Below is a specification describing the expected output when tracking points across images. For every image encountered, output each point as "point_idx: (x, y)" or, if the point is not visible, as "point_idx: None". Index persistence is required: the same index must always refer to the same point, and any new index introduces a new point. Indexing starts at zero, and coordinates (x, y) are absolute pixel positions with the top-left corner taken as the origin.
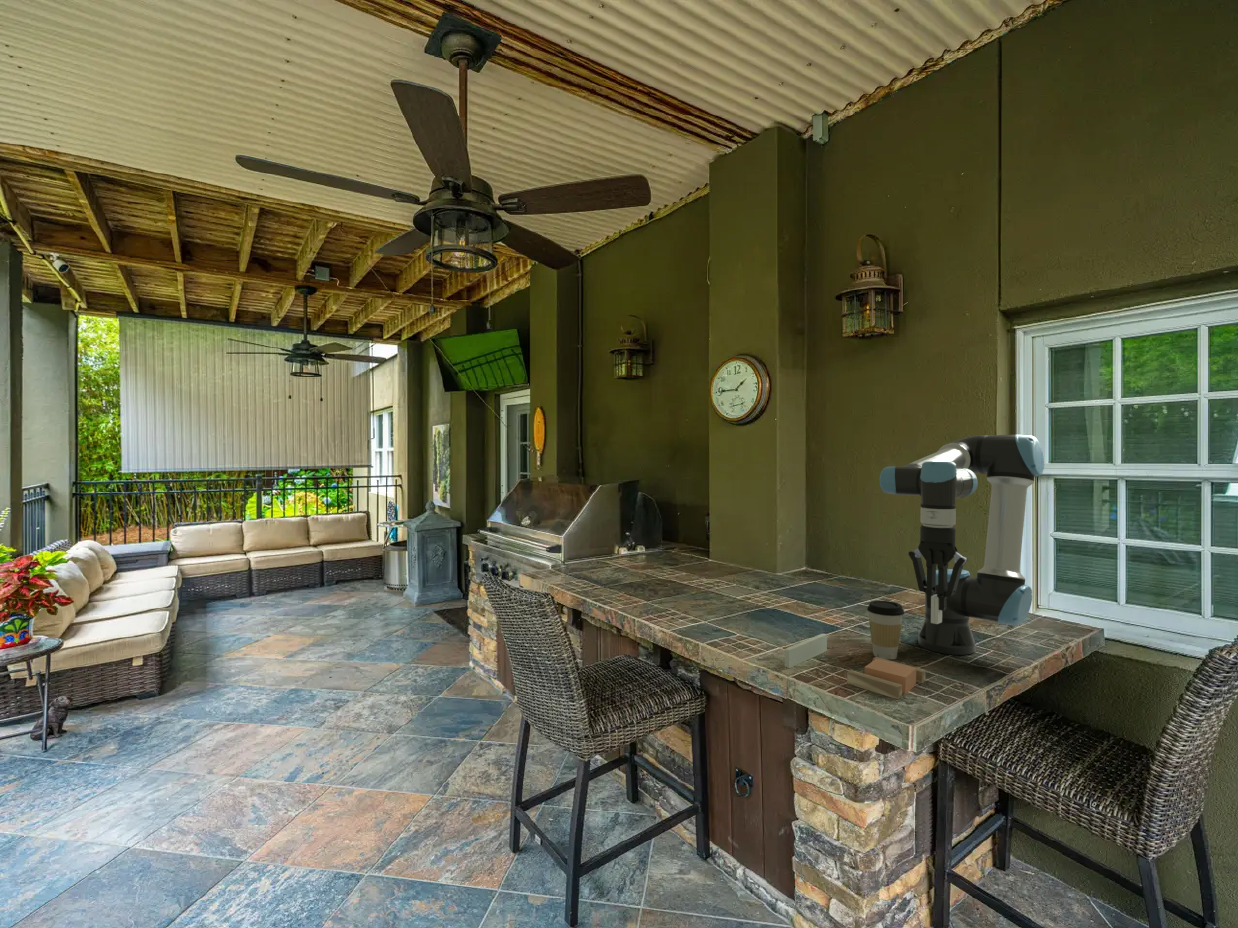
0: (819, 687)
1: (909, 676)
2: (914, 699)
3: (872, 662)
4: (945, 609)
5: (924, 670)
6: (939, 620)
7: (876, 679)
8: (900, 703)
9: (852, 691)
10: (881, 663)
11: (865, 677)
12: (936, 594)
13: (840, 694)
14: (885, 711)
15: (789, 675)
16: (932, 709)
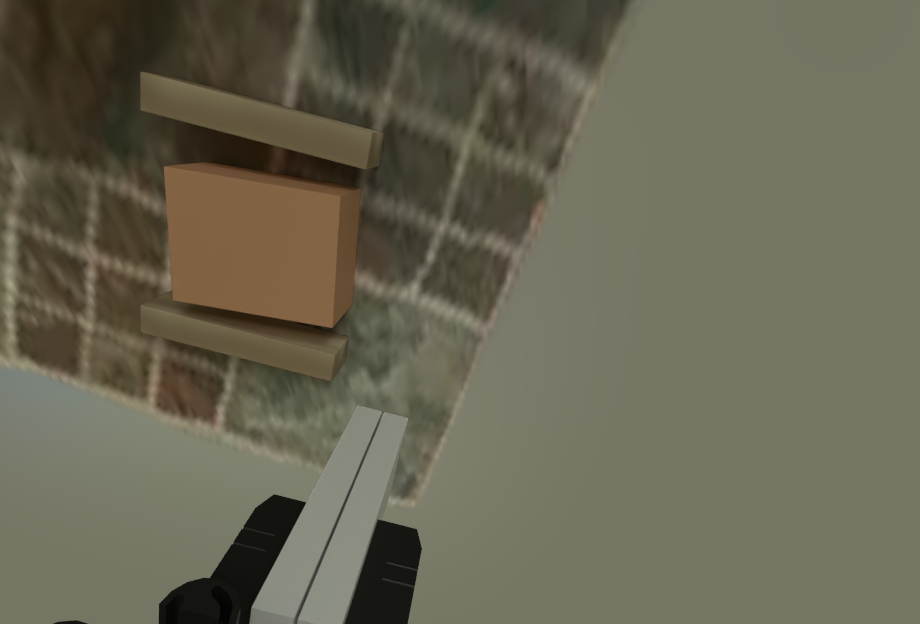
0: (125, 391)
1: (338, 282)
2: (387, 335)
3: (173, 229)
4: (416, 529)
5: (369, 141)
6: (393, 474)
7: (248, 349)
8: (358, 386)
9: (212, 371)
10: (205, 219)
11: (212, 349)
12: (264, 611)
13: (196, 409)
14: None
15: (4, 346)
16: (448, 382)
